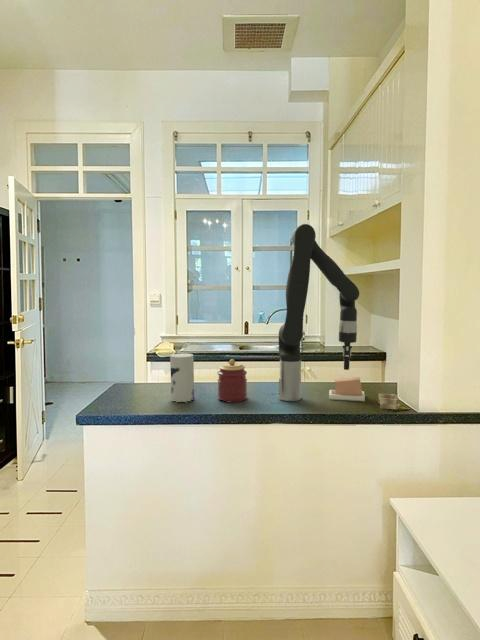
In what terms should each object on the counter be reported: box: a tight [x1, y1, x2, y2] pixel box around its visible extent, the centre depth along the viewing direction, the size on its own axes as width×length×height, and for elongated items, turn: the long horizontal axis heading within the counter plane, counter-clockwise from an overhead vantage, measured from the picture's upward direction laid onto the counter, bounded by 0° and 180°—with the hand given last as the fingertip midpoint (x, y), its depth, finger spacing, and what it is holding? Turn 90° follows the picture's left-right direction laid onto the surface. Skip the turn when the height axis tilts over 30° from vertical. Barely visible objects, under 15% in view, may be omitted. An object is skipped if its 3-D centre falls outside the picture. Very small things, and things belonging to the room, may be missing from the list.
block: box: [333, 376, 363, 396], centre depth 189 cm, size 11×5×7 cm, turn 75°
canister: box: [217, 358, 248, 403], centre depth 189 cm, size 13×13×18 cm
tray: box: [328, 389, 366, 402], centre depth 189 cm, size 15×9×2 cm, turn 76°
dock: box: [378, 393, 400, 410], centre depth 176 cm, size 7×8×4 cm
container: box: [169, 353, 195, 401], centre depth 188 cm, size 10×10×20 cm
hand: (346, 367), depth 188 cm, fingers open, 8 cm apart
